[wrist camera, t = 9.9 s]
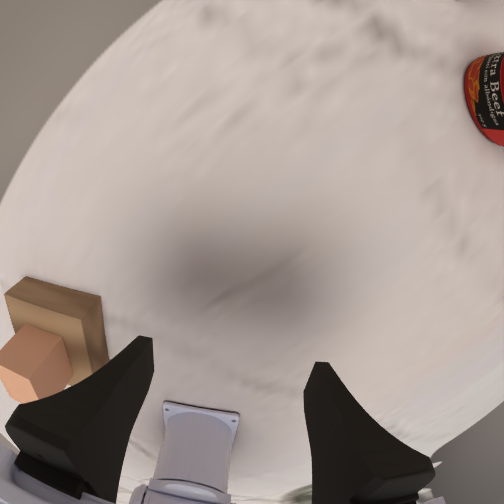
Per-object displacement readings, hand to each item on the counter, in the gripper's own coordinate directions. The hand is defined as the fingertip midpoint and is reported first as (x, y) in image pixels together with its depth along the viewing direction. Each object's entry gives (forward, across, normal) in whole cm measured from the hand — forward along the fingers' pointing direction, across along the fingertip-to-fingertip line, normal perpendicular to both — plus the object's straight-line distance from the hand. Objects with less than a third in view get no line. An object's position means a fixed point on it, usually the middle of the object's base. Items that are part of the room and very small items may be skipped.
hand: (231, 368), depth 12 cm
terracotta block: (+6, +16, +9) cm, 20 cm away
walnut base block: (+10, +16, +9) cm, 21 cm away
